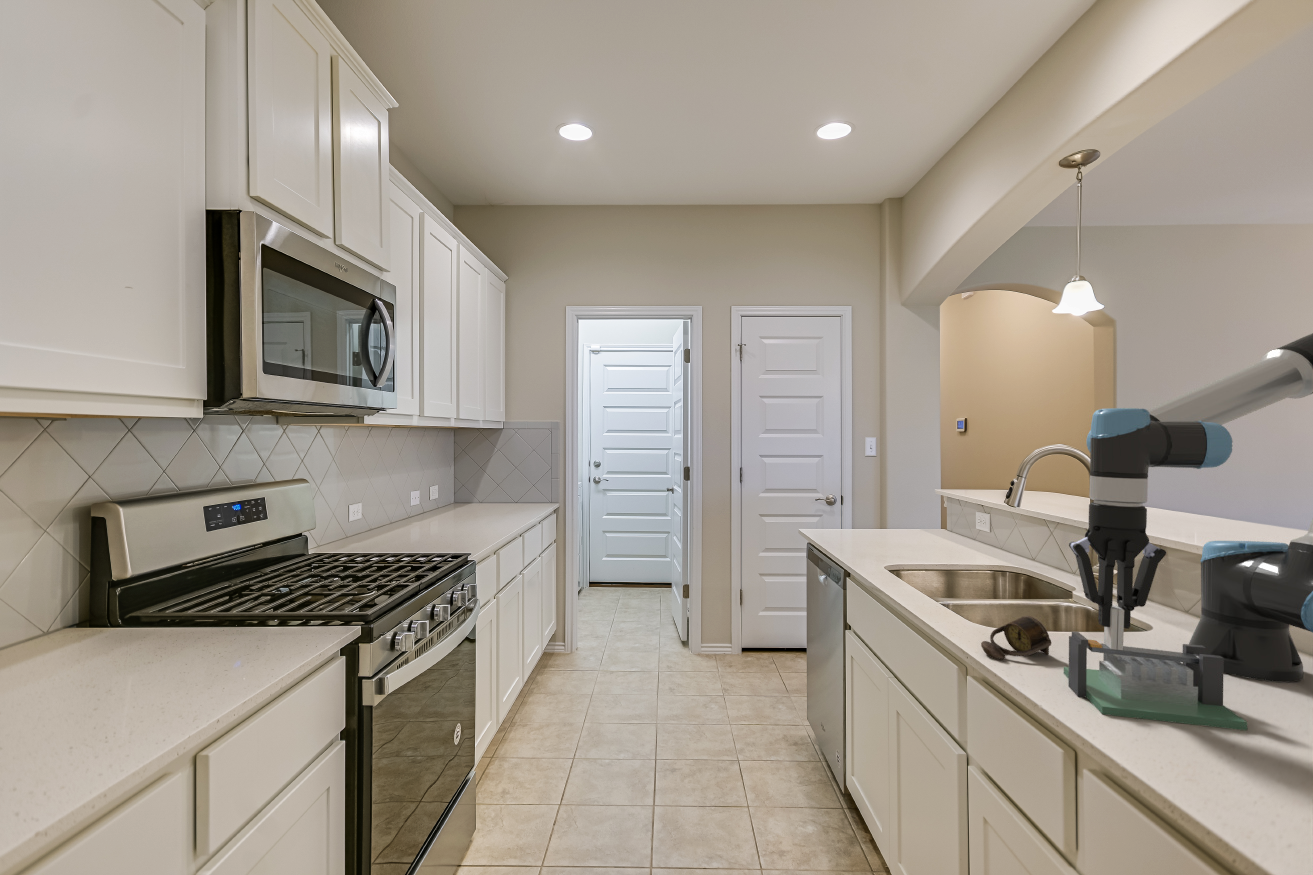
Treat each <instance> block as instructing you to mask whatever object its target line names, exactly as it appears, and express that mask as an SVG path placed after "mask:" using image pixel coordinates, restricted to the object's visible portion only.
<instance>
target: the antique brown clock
mask: <svg viewBox="0 0 1313 875" xmlns="http://www.w3.org/2000/svg"><path fill="white" fill-rule="evenodd" d="M1002 632H1003V634H1004V637H1005V639H1006V641H1007V643H1008V645H1009V646H1010V647H1011V648H1012V649H1013V650H1010V649H1007V648H1004V647H1002V646H1000V645H999V644H998V643H996V642H995V639H994V637H995V636H996V635H997V634H1000V633H1002ZM989 639H990V641H988V640H982V641H981V642H980V646H981V649H982V650H983V652H984V653H985V655H987V656H988V657H990V658H992V659H994V660H1000V661H1002V660H1004V659H1006V655H1007V656H1012V657H1027V656H1030V655H1033V654H1036V653H1037V652H1041V653H1043V654H1045V655H1046V656H1049V654H1050V646H1052V640H1051V638H1050V635H1049V633H1048V631H1047V629H1046V627H1045V625H1044V624H1043V623H1042V622H1041V621H1040V620H1038V619H1037V618H1035V617H1033V616H1032V615H1024V616H1021V617H1019V618H1018V619H1015V620H1012V621H1010V622H1008V623H1006V624H1004V625H1002V626H999V627H997V628H995V629H994V630H992V632H991V633H990V637H989Z"/></svg>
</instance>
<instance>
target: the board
mask: <svg viewBox="0 0 1313 875" xmlns="http://www.w3.org/2000/svg"><path fill="white" fill-rule="evenodd" d="M1063 675H1064V676H1066V678H1067V679H1068V680H1069V666H1063ZM1085 698H1086V699H1087V700H1088V701H1089V702H1090V703H1091V704H1092V705H1093V707H1094V708H1096V710H1098V711H1099V713H1100V714H1102V715H1105V716H1106V715H1107V716H1115V717H1124V718H1134V719H1140V720H1141V719H1143V720H1149V721H1150V720H1151V721H1161V722H1169V723H1175V724H1176V723H1178V724H1179V723H1180V724H1187V725H1188V724H1189V725H1196V726H1203V727H1205V726H1206V727H1214V728H1221V729H1222V728H1223V729H1231V730H1240V731H1248V721H1246V720H1245V719H1243V718H1242V717H1240V716H1239V715H1238V714H1236V713H1235V712H1234V711H1232V710H1230V709H1229V708H1228V707H1226V706H1225V705H1224V704H1223V706H1217V705H1207V704H1202V703H1200V702H1199V701H1198V706H1189V705H1179V704H1170V703H1160V702H1151V701H1141V700H1132V699H1122V698H1120V697H1119V696H1118V695H1117V694H1116V693H1115V692H1114V691H1112V690H1111V689H1110V688H1109V687H1108V686H1107V685H1106V684H1105V683H1104V682H1103V681H1102V680H1101V679H1100V678H1099V669H1091V668H1087V676H1086V697H1085Z"/></svg>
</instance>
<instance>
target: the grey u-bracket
mask: <svg viewBox="0 0 1313 875" xmlns="http://www.w3.org/2000/svg"><path fill="white" fill-rule="evenodd" d="M1182 653H1190V654H1192V653H1195V654H1197V655H1199V664H1193V663H1185V662H1181V663H1182V664H1184V665H1185V666H1187V667H1188V668H1190V669H1191V670H1193V684H1194V685H1196V686H1197V687H1198V701H1199V702H1200V703H1202V704H1207V705H1217V706H1223V705H1224V674H1225V672H1224V658H1223V657H1221V656H1216V655H1206V648H1205V647H1204V646H1202V645H1190V644H1189V643H1187V644H1186V643H1182Z"/></svg>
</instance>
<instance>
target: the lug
mask: <svg viewBox="0 0 1313 875" xmlns="http://www.w3.org/2000/svg"><path fill="white" fill-rule="evenodd" d="M1088 640H1089V639H1088V638H1087V637H1085V636H1084V635H1083V634H1082V633H1080V632H1079V631H1071V635H1068V667H1069V679H1068V688H1070V689H1071V691H1072V692H1073V693H1074V694H1075V695H1076V696H1077V697H1079V698H1086V676H1087V669H1088V667H1087V662H1088V661H1087V657H1088V656H1087V654H1088V653H1087V652H1088V650H1087V649H1088V648H1087V645H1088Z"/></svg>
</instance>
